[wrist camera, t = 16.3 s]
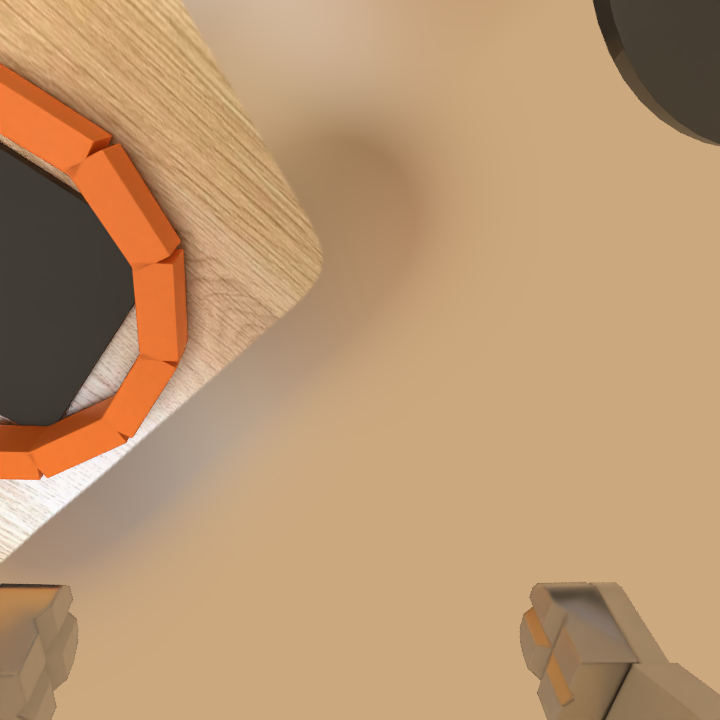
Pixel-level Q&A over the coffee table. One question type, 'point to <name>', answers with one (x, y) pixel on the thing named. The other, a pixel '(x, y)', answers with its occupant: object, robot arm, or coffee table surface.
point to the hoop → (149, 266)
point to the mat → (52, 292)
